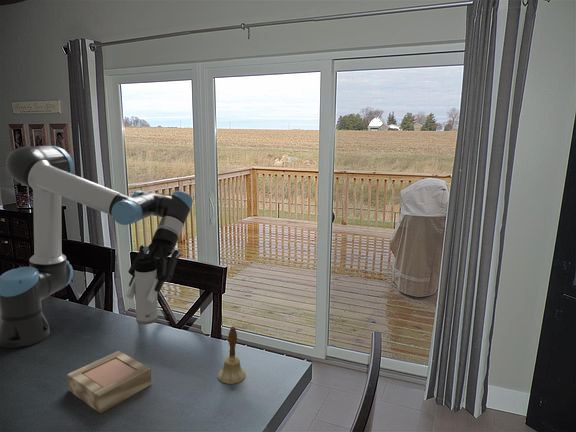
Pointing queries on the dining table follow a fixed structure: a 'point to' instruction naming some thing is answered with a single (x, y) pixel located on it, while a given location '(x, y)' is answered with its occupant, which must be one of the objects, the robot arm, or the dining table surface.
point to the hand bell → (231, 363)
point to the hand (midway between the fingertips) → (139, 299)
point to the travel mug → (145, 290)
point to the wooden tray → (113, 392)
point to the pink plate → (109, 372)
